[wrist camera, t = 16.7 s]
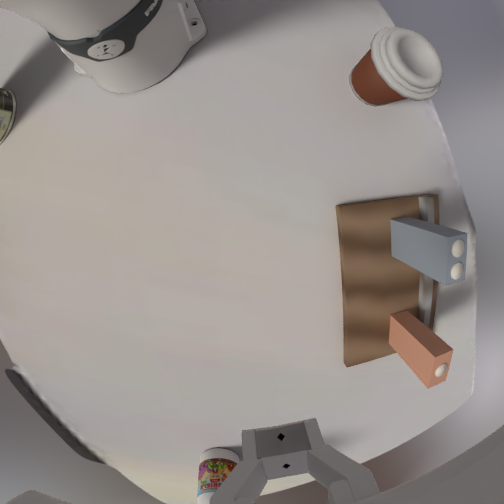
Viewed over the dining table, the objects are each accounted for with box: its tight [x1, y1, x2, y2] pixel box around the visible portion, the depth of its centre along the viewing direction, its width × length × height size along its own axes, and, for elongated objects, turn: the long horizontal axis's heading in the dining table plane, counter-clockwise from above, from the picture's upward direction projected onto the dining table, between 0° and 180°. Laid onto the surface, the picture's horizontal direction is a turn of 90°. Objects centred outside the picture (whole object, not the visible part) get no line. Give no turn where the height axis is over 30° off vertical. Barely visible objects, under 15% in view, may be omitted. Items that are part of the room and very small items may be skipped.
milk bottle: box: [197, 448, 239, 504], centre depth 36 cm, size 8×8×20 cm
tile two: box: [390, 217, 467, 286], centre depth 29 cm, size 5×3×12 cm, turn 9°
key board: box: [336, 194, 439, 367], centre depth 37 cm, size 24×16×4 cm, turn 9°
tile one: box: [389, 310, 453, 388], centre depth 33 cm, size 5×3×12 cm, turn 9°
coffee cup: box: [350, 27, 443, 106], centre depth 26 cm, size 9×9×12 cm
